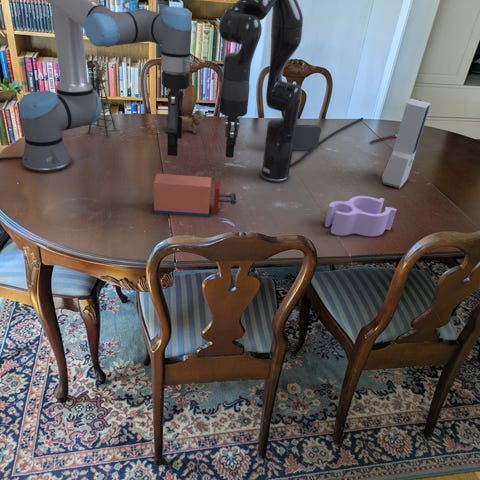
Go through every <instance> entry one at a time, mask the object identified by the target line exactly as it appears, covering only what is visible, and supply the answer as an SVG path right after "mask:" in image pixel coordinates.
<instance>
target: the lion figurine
mask: <svg viewBox="0 0 480 480" xmlns="http://www.w3.org/2000/svg"><path fill="white" fill-rule="evenodd" d="M180 117H182V126H186V127H189V126H190V132H192V133H193V134H196V133H197V130H196V127H197V126H200V124H201V123H202V122H203V120H204V111H202V110H200V109H197V110H195V111H194V112H193V113H192V114H190V115H189V116H180Z"/></svg>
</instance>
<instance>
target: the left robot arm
mask: <svg viewBox="0 0 480 480" xmlns="http://www.w3.org/2000/svg"><path fill="white" fill-rule="evenodd" d="M44 1H45V2H46V3H47V4H49V5H50V7H51V8H50V9H51V16H52V24H53V32H54V41H55V47H56V56H57V66H58V73H59V82H58V84H57V85H55V86H56V92H54V91H51V90H41V91H40V90H37V91H32V92H29V93H26V94H24V95H23V96H22V97H21V98H20V100H19V103H18V104H19V116H20V119H21V126H22V132H23V137H24V148H23V153H22V156H3V157H0V161H13V160H14V161H15V160H21V161H22V166H23V168H24V169H25V170H27V171H29V172H33V173H39V174H46V173H56V172H61V171H63V170H66V169H67V168H69V167H70V166H71V163H72V159H71V155H70V153H69V151H68V150H67V149H68V148H67V147H66V145H65V143H64V140H63V132H64V131H68V130H72V129H76V128H80V127H87V126H89V124H95V123H97V120H98V119H99V118H100V117H101V115H102V113H101V112H103V108H102V101H101V98H100V97H99V96H100V94H99V95H98V92H96V91H97V90H96V91H95V89H94V87H93V85H92V84H91V83H90V82H89V81H88V71H87V61H86V60H87V59H86V52H85V40H84V39H85V38H84V34H85V36H86V38H87V39H88V41H89V43H91V44H92V45H93V46H95V47H99V48H100V47H105V48H110V47H111V48H112V47H115V46H122V45H130V44H131V45H132V44H140V43H141V44H142V43H154V44H158V45H160V46H161V61H160V63H161V70H162V71H161V85H162V87H164V88H166V89H169V90H168V94H167V124H166V130H164V134H166V135H167V145H166V146H167V147H166V148H167V149H166V150H167V151H166V152H167V156H170V157H171V156H172V157H178V146H179V145H178V144H179V143H178V141H179V140H180V139H182V138H183V124H182V117H180V116H183V117H185V112H183V111H184V109H183V102H184V100H183V99H184V92H183V90H186V89H188V88H189V87H190V81H191V79H190V78H191V76H190V73H189V72H190V70H191V64H193V59H191V42H192V39H191V38H192V29H193V26H192V13H191V11H190V10H189V9H188V8H186V7H179V6H164V7H162V9H161V12H159V11H153V10H150V9H148V8H133V9H131V10H130V11H113V10H111V9H110V8H108V7H106V6H105V5H104V4H102V3H101V2H99V1H98V0H44ZM83 29H84V30H83ZM84 32H85V33H84ZM99 120H100V119H99Z"/></svg>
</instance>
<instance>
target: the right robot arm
mask: <svg viewBox="0 0 480 480" xmlns="http://www.w3.org/2000/svg"><path fill="white" fill-rule="evenodd" d="M271 9H272V14H271V25H270V56H269V57H270V58H269V68H268V75H267V84H266V93H265V100H266V101H265V102H266V106H267V107H268V108H269V109H271V110H275V111H279V112H283V113H284V116H283V117H277V118H272V119H270V120H269V121H268V122H267V128H266V136H265V144H264V152H263V159H262V167H261V172H260V176H261V178H262V179H263V180H265V181H268V182H271V183H282V182H285V181H287V179H288V178H289V175H290V170H291V167H294V166H295V165H297V164H299V163H300V162H301V161H303V160H304V159H306V157H307V156H308V155H310V154H311V153H312V152H314V150H315V149H314V148H312V149H311V150H307V152H306V153H305V154H303V155H302V156H301V157H300V158H298V159H297V160H295V161H294V162H293V163H292V157H293V151H291V148H292V142H293V136H294V130H295V126H296V125H297V122H298V116H299V112H300V108H301V103H302V97H303V96H302V95H303V90H302V87H301V86H300V85H299V84H297V83H296V84H295V83H292V82H289V81H288V82H287V81H284V80H283V72H284V69H285V67H286V65H287V63H288V62H289V60H290V59H291V58H292V57H293V55H294V54H295V53H296V51H297V49H298V48H299V46H300V45H301V41H302V38H303V37H302V36H303V27H304V26H303V25H304V16H303V12H302V9H301V7H300V5H299V3H298V0H238V1H236V2H235V3H234V4H232V5H231V6H230V7H228V8H227V9H226V10H225V12H223V14H222V16H221V17H220V20H219V23H218V33H219V36H220V37H221V39H222V40H223V41H225V42H228V43H233V44H237V45H240V49H239V50H238V51H237V52H234V51H233V52H229V53H226V54H225V56H224V58H223V68H222V78H221V84H220V95H219V96H220V97H219V112H220V114H222V115H223V116H226V117H225V118H224V119H225V120H224V128H225V129H224V137H225V145H226V146H225V157H226V158H228V159H229V158H230V159H233V158H234V154H235V147H236V145H237V143H236V142H237V138H238V136H239V129H240V126H241V125H240V123H241V122H240V117H244V116H246V115H247V113H248V107H249V98H250V97H249V96H250V80H251V79H250V78H251V67H252V62H253V58H254V56H255V52H256V50H257V47H258V45H259V42H260V39H261V36H262V30H263V28H262V27H263V26H262V23H261V21H262V20H264V19H265V18H266V17H267V15H268V14H269V13H270V12H271ZM362 120H364V117H361V118H359V119H357V120H355V121H353V122H351V123H349V124H347V125H344V126H343V127H341V128H339V129H337V130H336V131H334V132H332V133H330V134H329V135H327V136H326V137H324V138H323V139H321V141H319V144H318V147H319V146H320V145H322V144H323V143H324V142H326V141H327V140H329V139H331V138H332V137H333V136H334V135H336V134H338V133H339V132H341V131H343V130H345V129H347V128H349V127H351V126H352V125H355V124H357V123H359V122H361V121H362Z"/></svg>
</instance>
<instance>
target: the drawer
mask: <svg viewBox="0 0 480 480" xmlns="http://www.w3.org/2000/svg"><path fill="white" fill-rule="evenodd" d="M214 184H215V185H214V199H213V214H218V212H219V203H230V204H231V205H233V206H234V205H236V203H237V195H236V193H234V192H232V193H230V194H226V193H225V194H224V193H223V194H221V193H220V184H221V183H220V181H215V183H214ZM211 189H212V188H211ZM211 189H210V193H211ZM221 198H230V199H221ZM210 204H211V203H210ZM210 204H209V208H210Z"/></svg>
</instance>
